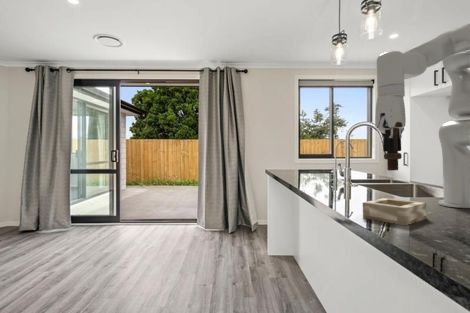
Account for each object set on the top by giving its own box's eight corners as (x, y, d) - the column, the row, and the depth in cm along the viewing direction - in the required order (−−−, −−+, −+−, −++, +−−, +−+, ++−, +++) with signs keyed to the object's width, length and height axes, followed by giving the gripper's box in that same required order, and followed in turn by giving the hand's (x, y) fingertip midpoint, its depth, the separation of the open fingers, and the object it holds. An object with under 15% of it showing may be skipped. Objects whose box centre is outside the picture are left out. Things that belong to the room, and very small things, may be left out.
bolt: (405, 170, 86) (404, 121, 86) (387, 171, 87) (385, 122, 87) (398, 169, 92) (397, 123, 92) (381, 169, 93) (380, 124, 93)
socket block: (384, 212, 99) (384, 197, 99) (426, 218, 88) (426, 202, 88) (363, 218, 92) (362, 202, 91) (405, 225, 81) (405, 208, 81)
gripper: (392, 97, 97) (393, 151, 97) (364, 92, 88) (366, 152, 88) (416, 92, 91) (417, 150, 91) (388, 87, 82) (390, 151, 82)
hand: (392, 150), depth 89 cm, fingers closed on bolt, 3 cm apart
